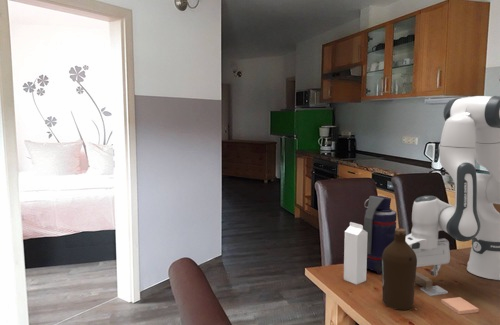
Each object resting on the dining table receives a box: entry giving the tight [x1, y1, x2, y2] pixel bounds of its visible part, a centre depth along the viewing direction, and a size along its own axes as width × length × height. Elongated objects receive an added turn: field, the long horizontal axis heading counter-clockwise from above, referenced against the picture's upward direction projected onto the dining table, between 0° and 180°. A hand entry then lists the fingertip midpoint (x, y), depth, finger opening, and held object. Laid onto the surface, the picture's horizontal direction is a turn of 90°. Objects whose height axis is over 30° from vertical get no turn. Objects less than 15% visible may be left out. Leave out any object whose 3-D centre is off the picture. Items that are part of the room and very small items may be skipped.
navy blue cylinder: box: [363, 195, 397, 275], centre depth 151 cm, size 14×12×30 cm
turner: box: [415, 270, 449, 297], centre depth 138 cm, size 7×15×3 cm, turn 14°
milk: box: [343, 221, 368, 286], centre depth 142 cm, size 6×6×22 cm
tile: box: [440, 296, 479, 315], centre depth 122 cm, size 7×2×8 cm
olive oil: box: [381, 227, 418, 311], centre depth 123 cm, size 11×11×25 cm
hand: (422, 276), depth 139 cm, fingers open, 8 cm apart
